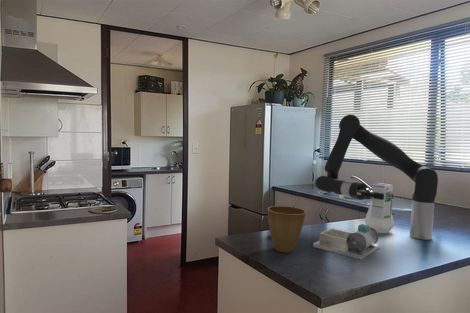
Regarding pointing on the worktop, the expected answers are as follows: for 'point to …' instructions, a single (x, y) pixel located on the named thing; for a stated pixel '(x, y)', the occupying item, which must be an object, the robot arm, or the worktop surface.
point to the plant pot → (285, 226)
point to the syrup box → (382, 201)
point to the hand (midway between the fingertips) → (387, 196)
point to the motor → (349, 241)
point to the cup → (379, 222)
